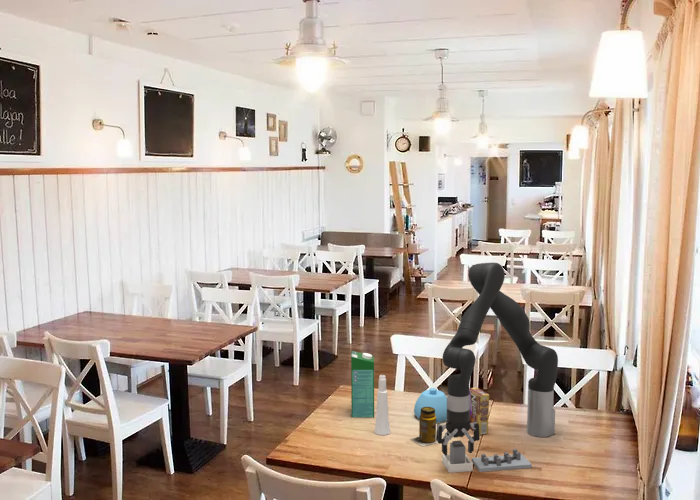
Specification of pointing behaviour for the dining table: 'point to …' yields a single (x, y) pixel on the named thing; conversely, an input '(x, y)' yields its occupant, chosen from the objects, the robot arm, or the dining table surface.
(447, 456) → the white square tray
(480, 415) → the candy box
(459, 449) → the block
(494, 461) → the board
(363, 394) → the milk carton
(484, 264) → the robot arm
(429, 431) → the condiment
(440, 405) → the sugar bowl
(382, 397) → the cosmetic bottle
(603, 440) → the dining table surface
